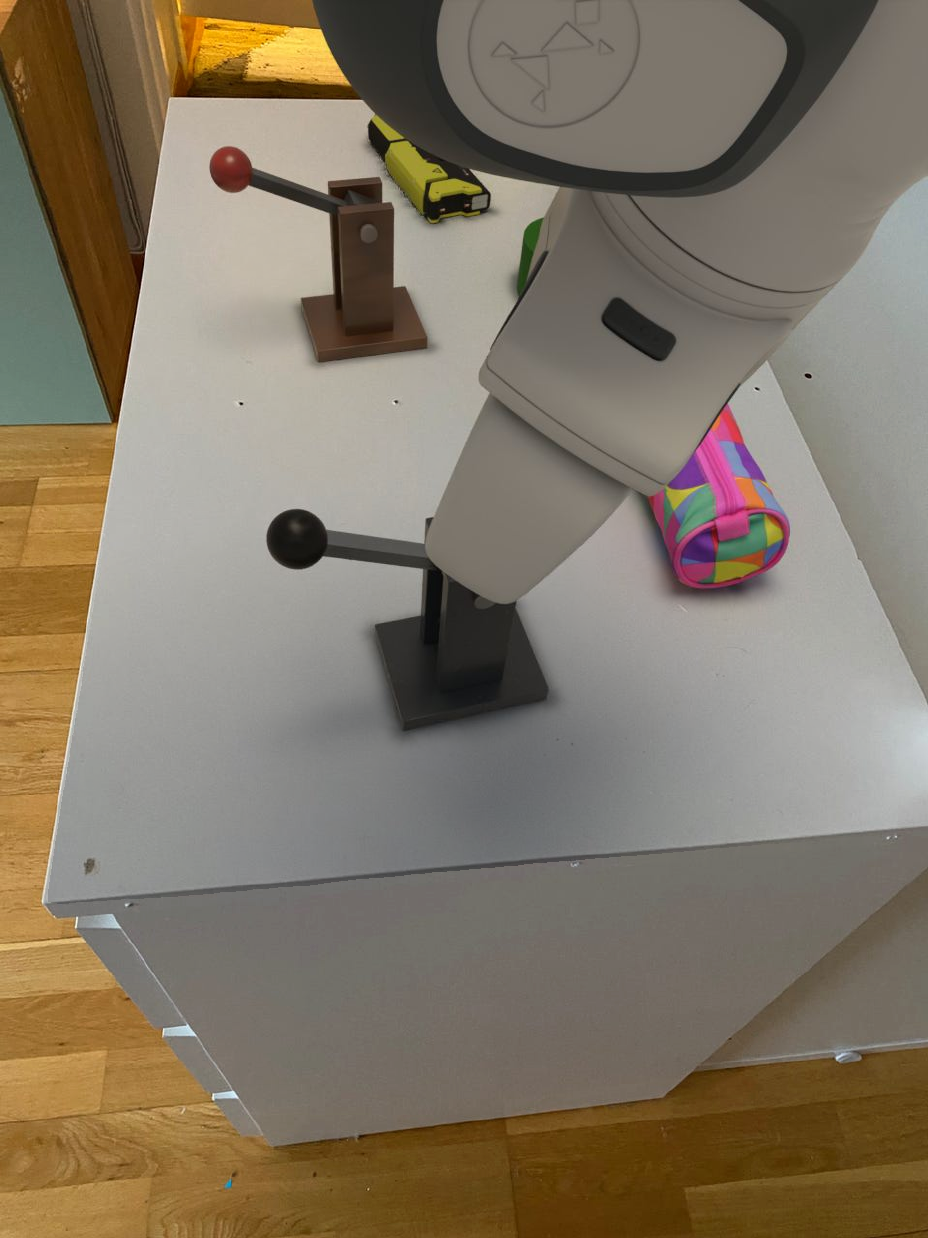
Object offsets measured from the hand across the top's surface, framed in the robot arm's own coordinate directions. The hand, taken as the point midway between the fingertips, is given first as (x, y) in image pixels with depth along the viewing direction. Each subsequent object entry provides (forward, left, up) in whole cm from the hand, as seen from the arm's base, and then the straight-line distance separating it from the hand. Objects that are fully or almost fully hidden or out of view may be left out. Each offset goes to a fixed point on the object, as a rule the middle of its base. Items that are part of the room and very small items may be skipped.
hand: (520, 474), depth 42 cm
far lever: (-4, +43, -12) cm, 45 cm away
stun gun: (+18, +69, -24) cm, 76 cm away
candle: (+22, +45, -24) cm, 56 cm away
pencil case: (+22, +17, -24) cm, 36 cm away
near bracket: (0, +5, -23) cm, 24 cm away
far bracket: (+2, +43, -23) cm, 49 cm away
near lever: (-6, +5, -12) cm, 14 cm away
